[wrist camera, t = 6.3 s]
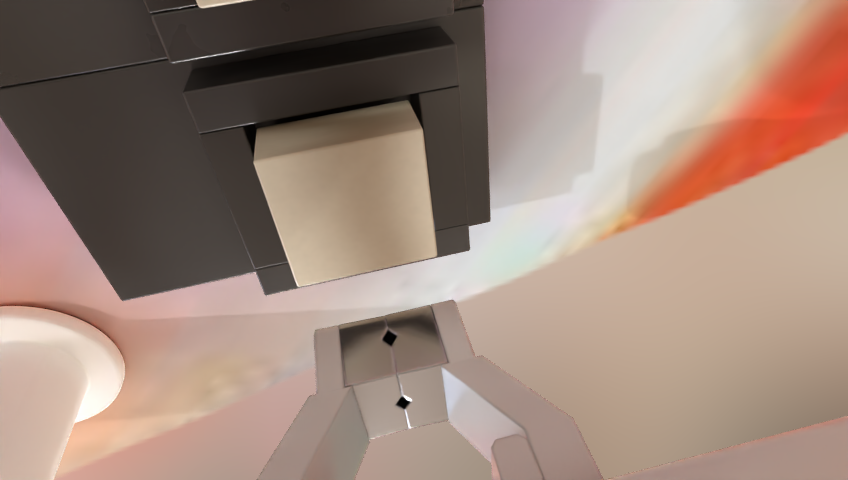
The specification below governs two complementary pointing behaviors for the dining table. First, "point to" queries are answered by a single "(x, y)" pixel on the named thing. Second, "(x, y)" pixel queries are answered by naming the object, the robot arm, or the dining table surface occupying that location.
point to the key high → (217, 2)
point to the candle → (49, 386)
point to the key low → (348, 191)
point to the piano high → (178, 30)
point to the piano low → (243, 146)
